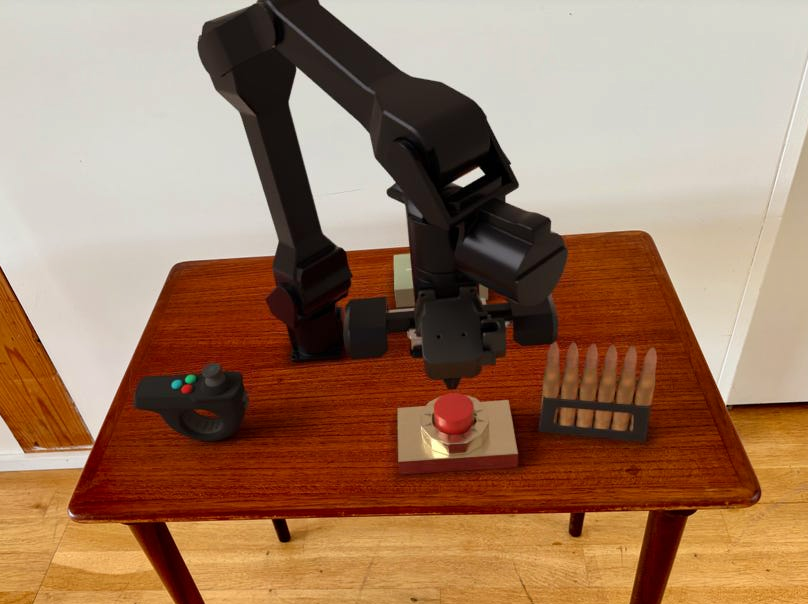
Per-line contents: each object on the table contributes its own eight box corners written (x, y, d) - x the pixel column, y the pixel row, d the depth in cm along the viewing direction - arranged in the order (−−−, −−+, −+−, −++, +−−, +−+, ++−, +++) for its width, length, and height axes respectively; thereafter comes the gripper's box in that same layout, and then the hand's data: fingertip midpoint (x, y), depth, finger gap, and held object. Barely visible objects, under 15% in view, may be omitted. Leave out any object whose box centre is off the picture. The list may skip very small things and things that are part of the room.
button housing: (400, 475, 73) (396, 449, 70) (398, 421, 79) (395, 396, 76) (518, 467, 72) (518, 441, 69) (508, 413, 78) (508, 387, 75)
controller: (254, 447, 78) (232, 382, 72) (149, 448, 80) (117, 385, 74) (262, 418, 82) (241, 354, 75) (161, 420, 83) (131, 357, 77)
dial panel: (396, 309, 93) (394, 290, 91) (395, 271, 100) (393, 252, 98) (488, 301, 92) (488, 281, 90) (481, 263, 99) (481, 244, 97)
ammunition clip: (645, 428, 74) (663, 341, 66) (646, 441, 72) (664, 355, 64) (539, 418, 76) (544, 334, 68) (538, 431, 75) (543, 346, 67)
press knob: (435, 436, 72) (434, 422, 70) (433, 407, 75) (432, 393, 73) (475, 433, 71) (475, 419, 70) (472, 404, 74) (471, 391, 73)
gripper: (328, 325, 54) (355, 456, 65) (577, 304, 52) (564, 442, 63) (335, 244, 62) (358, 372, 73) (551, 223, 61) (543, 358, 71)
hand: (451, 386), depth 70 cm, fingers closed
